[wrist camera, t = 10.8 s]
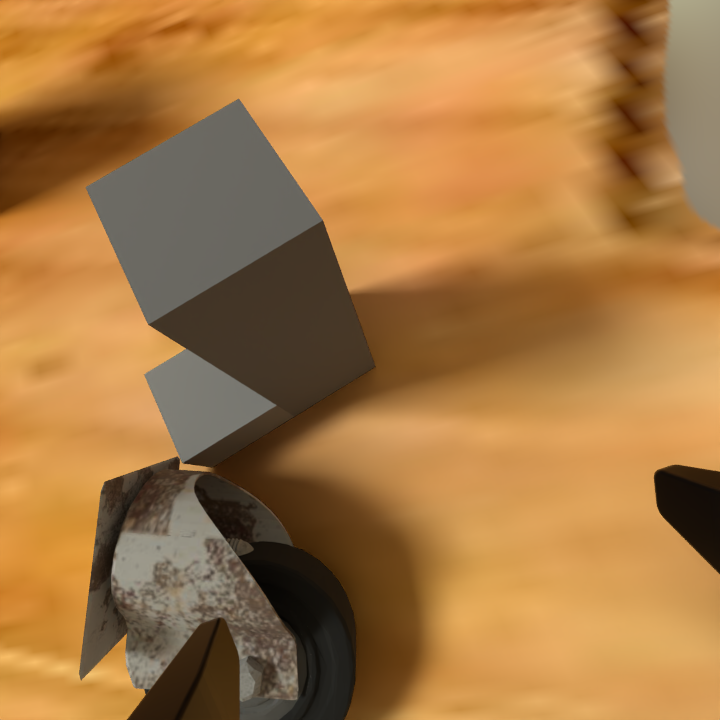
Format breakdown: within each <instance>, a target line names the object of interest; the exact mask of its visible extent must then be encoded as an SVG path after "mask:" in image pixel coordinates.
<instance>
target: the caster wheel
mask: <svg viewBox="0 0 720 720" xmlns="http://www.w3.org/2000/svg"><path fill="white" fill-rule="evenodd" d="M179 464H180V459H179V458H178V457H175V458H172V459H169V460H166V461H163V462H160V463H157V464H154V465H152V466H149V467H146V468H143V469H140V470H137V471H134V472H131V473H129V474H126V475H123V476H120V477H117V478H114V479H111V480H108V481H105V482H104V485H103V487H102V490H101V496H100V504H99V512H98V521H97V529H96V537H95V546H94V554H93V562H92V571H91V579H90V587H89V596H88V604H87V613H86V621H85V629H84V638H83V646H82V654H81V663H80V671H79V675H80V679H81V680H82V679H83V678H84V677H85V676H86V675H87V674H88V673H89V672H90V671H91V670H92V669H93V668H94V667H95V666H96V665H97V663H98V662H99V661H100V660H101V659H102V658H103V657H104V656H105V655H106V654H107V653H108V652H109V651H110V650H111V649H112V648H113V647H114V646H115V645H116V644H117V643H118V642H119V641H120V640H121V639H122V638H123V637H124V636H125V635H126V634H127V640H126V652H125V653H126V666H127V669H128V672H129V675H130V678H131V681H132V683H133V686H134V687H135V688H139V689H145V694H147V693H148V691H149V690H150V689H151V688H152V686H153V685H154V684H155V682H156V681H157V680H158V678H159V677H160V676H161V674H162V673H163V672H164V670H165V669H166V668H167V666H168V665H169V664H170V662H171V661H172V660H173V659H174V657H175V656H176V655H177V653H178V652H179V651H180V649H181V648H182V647H183V645H184V644H185V643H186V641H187V640H188V639H189V637H190V636H191V635H192V634H193V632H194V631H195V630H196V628H197V627H198V626H199V625H200V624H201V623H203V622H206V621H209V620H212V619H215V618H218V617H222V618H224V620H225V621H226V623H227V625H228V628H229V630H230V633H231V635H232V638H233V640H234V643H235V645H236V648H237V650H238V654H239V661H240V720H344V719H345V717H346V715H347V712H348V709H349V707H350V704H351V699H352V694H353V690H354V685H355V672H356V629H355V620H354V615H353V611H352V608H351V605H350V603H349V600H348V597H347V595H346V593H345V591H344V589H343V588H342V586H341V584H340V583H339V581H338V580H337V578H336V577H335V576H334V575H333V573H332V572H331V571H330V570H329V569H328V568H327V567H326V566H325V565H323V564H322V563H321V562H320V561H319V560H318V559H317V558H315V557H313V556H312V555H310V554H308V553H307V552H305V551H303V550H301V549H298V548H296V547H294V546H293V543H292V541H291V539H290V537H289V535H288V533H287V531H286V529H285V527H284V526H283V525H282V523H281V522H280V520H279V519H278V518H277V517H276V515H275V514H274V513H273V512H272V511H271V510H270V509H269V508H268V507H267V506H266V505H265V504H263V503H262V502H261V501H260V500H259V499H257V498H256V497H255V496H253V495H252V494H251V493H249V492H248V491H246V490H244V489H243V488H241V487H240V486H238V485H236V484H234V483H232V482H231V481H229V480H227V479H225V478H223V477H221V476H218V475H216V474H214V473H211V472H202V471H187V470H179Z"/></svg>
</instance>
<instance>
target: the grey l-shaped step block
mask: <svg viewBox="0 0 720 720" xmlns="http://www.w3.org/2000/svg"><path fill="white" fill-rule="evenodd" d="M86 189H87V191H88V194H89V196H90V198H91V200H92V202H93V205H94V207H95V209H96V211H97V213H98V216H99V218H100V220H101V222H102V224H103V227H104V229H105V231H106V233H107V235H108V238H109V240H110V242H111V244H112V246H113V248H114V251H115V253H116V255H117V257H118V259H119V262H120V264H121V266H122V268H123V270H124V273H125V275H126V277H127V279H128V281H129V284H130V286H131V288H132V290H133V292H134V295H135V297H136V299H137V301H138V303H139V306H140V308H141V310H142V312H143V314H144V317H145V319H146V321H147V323H148V325H150V326H151V327H153V328H154V329H156V330H158V331H159V332H161V333H162V334H164V335H166V336H167V337H169V338H170V339H172V340H173V341H175V342H177V343H178V344H180V345H181V346H183V347H185V348H186V350H184V351H182V352H181V353H179V354H177V355H176V356H174V357H172V358H171V359H169V360H167V361H166V362H164V363H162V364H161V365H159V366H157V367H156V368H154V369H152V370H151V371H149V372H147V373H146V374H144V375H145V378H146V380H147V382H148V384H149V387H150V389H151V391H152V394H153V396H154V398H155V401H156V403H157V405H158V408H159V410H160V412H161V415H162V417H163V419H164V422H165V424H166V426H167V429H168V431H169V433H170V435H171V438H172V440H173V442H174V445H175V447H176V449H177V452H178V454H179V456H180V459H181V461H182V463H184V464H192V465H199V466H206V467H214V466H215V465H217V464H219V463H220V462H222V461H223V460H225V459H227V458H228V457H230V456H232V455H233V454H235V453H236V452H238V451H240V450H241V449H243V448H245V447H246V446H248V445H249V444H251V443H253V442H254V441H256V440H258V439H259V438H261V437H262V436H264V435H266V434H267V433H269V432H270V431H272V430H274V429H275V428H277V427H279V426H280V425H282V424H283V423H285V422H287V421H288V420H290V419H292V418H293V417H295V416H296V415H298V414H300V413H301V412H303V411H305V410H306V409H308V408H309V407H311V406H313V405H314V404H316V403H317V402H319V401H321V400H322V399H324V398H326V397H327V396H329V395H330V394H332V393H334V392H335V391H337V390H339V389H340V388H342V387H343V386H345V385H347V384H348V383H350V382H352V381H353V380H355V379H356V378H358V377H360V376H361V375H363V374H364V373H366V372H368V371H369V370H371V369H373V368H374V367H375V364H374V361H373V359H372V356H371V353H370V350H369V347H368V345H367V342H366V339H365V336H364V334H363V331H362V328H361V325H360V322H359V320H358V317H357V314H356V311H355V308H354V306H353V303H352V300H351V297H350V295H349V292H348V289H347V286H346V283H345V281H344V278H343V275H342V272H341V270H340V267H339V264H338V261H337V258H336V256H335V253H334V250H333V247H332V244H331V242H330V239H329V236H328V233H327V231H326V228H325V225H324V222H323V220H322V218H321V217H320V216H319V214H318V213H317V211H316V210H315V208H314V207H313V205H312V204H311V202H310V201H309V200H308V198H307V197H306V195H305V194H304V192H303V191H302V189H301V188H300V187H299V185H298V184H297V182H296V181H295V179H294V178H293V176H292V175H291V174H290V172H289V171H288V169H287V168H286V166H285V165H284V163H283V162H282V160H281V159H280V158H279V156H278V155H277V153H276V152H275V150H274V149H273V147H272V146H271V145H270V143H269V142H268V140H267V139H266V137H265V136H264V134H263V133H262V131H261V130H260V129H259V127H258V126H257V124H256V123H255V121H254V120H253V118H252V117H251V116H250V114H249V113H248V111H247V110H246V108H245V107H244V105H243V104H242V102H241V101H240V100H239V99H238V100H236V101H234V102H232V103H231V104H229V105H227V106H225V107H224V108H222V109H220V110H219V111H217V112H215V113H213V114H212V115H210V116H208V117H206V118H205V119H203V120H201V121H199V122H198V123H196V124H194V125H193V126H191V127H189V128H187V129H186V130H184V131H182V132H180V133H179V134H177V135H175V136H173V137H172V138H170V139H168V140H167V141H165V142H163V143H161V144H160V145H158V146H156V147H154V148H153V149H151V150H149V151H147V152H146V153H144V154H142V155H141V156H139V157H137V158H135V159H134V160H132V161H130V162H128V163H127V164H125V165H123V166H122V167H120V168H118V169H116V170H115V171H113V172H111V173H109V174H108V175H106V176H104V177H102V178H101V179H99V180H97V181H96V182H94V183H92V184H90V185H89V186H87V187H86Z"/></svg>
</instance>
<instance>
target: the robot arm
mask: <svg viewBox="0 0 720 720" xmlns="http://www.w3.org/2000/svg"><path fill="white" fill-rule="evenodd" d="M654 483H655V493H656V503H657V507H658V510H659V512H660V514H661V515H662V516H663V518H664V519H665V520H666V521H667V522H668V523H669V524H670V525H671V526H672V527H673V528H674V529H675V530H676V531H677V532H678V533H679V534H680V535H681V536H682V537H683V538H684V539H685V540H686V541H687V542H688V543H689V544H690V545H691V546H692V547H693V548H694V549H695V550H696V551H697V552H698V553H699V554H700V555H701V556H702V557H703V558H704V559H705V560H706V561H707V562H708V563H709V564H710V565H711V566H712V567H713V568H714V569H715V570H716V571H717V572H718V573H719V574H720V472H718V471H712V470H706V469H700V468H694V467H688V466H682V465H671V466H668V467H665V468H662V469H659V470H657V471H656V472H655V474H654ZM127 720H240V661H239V654H238V650H237V648H236V645H235V643H234V640H233V638H232V635H231V633H230V630H229V628H228V625H227V623H226V621H225V620H224V618H222V617H218V618H215V619H212V620H209V621H206V622H203V623H201V624H200V625H199V626H198V627H197V628H196V630H195V631H194V632H193V634H192V635H191V636H190V637H189V639H188V640H187V641H186V643H185V644H184V645H183V647H182V648H181V649H180V651H179V652H178V653H177V655H176V656H175V657H174V659H173V660H172V661H171V662H170V664H169V665H168V666H167V668H166V669H165V670H164V672H163V673H162V674H161V676H160V677H159V678H158V680H157V681H156V682H155V684H154V685H153V686H152V688H151V689H150V690H149V691H148V693H147V694H146V695H145V697H144V698H143V699H142V701H141V702H140V703H139V705H138V706H137V707H136V709H135V710H134V711H133V713H132V714H131V715H130V717H129V718H128V719H127Z"/></svg>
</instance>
